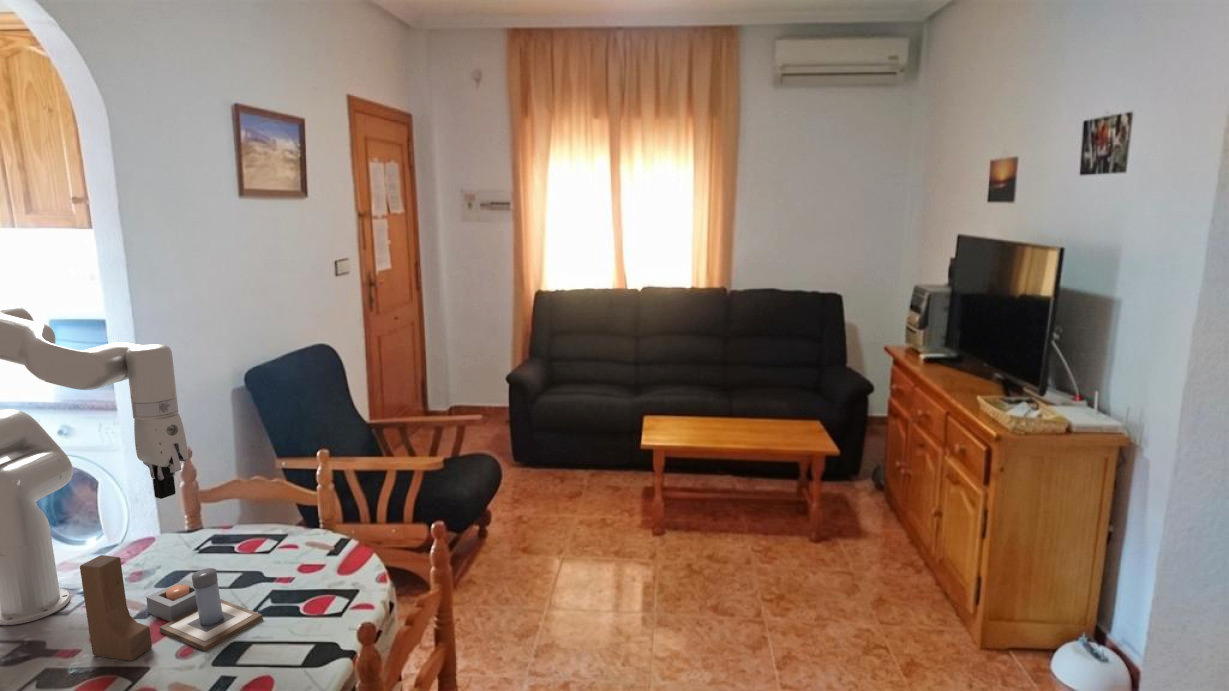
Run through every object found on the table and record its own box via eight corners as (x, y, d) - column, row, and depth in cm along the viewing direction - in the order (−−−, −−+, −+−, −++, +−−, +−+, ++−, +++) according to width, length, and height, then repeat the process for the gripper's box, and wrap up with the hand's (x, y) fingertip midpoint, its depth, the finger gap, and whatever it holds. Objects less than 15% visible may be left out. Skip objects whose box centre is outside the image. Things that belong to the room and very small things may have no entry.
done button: (163, 602, 145) (161, 591, 144) (182, 593, 148) (181, 582, 148) (175, 607, 143) (173, 596, 142) (194, 598, 146) (193, 587, 146)
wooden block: (153, 647, 132) (141, 558, 129) (132, 662, 128) (120, 570, 125) (113, 641, 134) (101, 554, 131) (91, 656, 130) (78, 565, 127)
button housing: (148, 612, 144) (146, 597, 143) (186, 594, 151) (185, 579, 150) (172, 622, 140) (170, 606, 140) (210, 603, 147) (208, 588, 147)
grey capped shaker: (195, 622, 139) (187, 575, 137) (216, 611, 142) (209, 566, 140) (206, 628, 136) (198, 581, 134) (227, 617, 140) (220, 571, 138)
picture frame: (159, 631, 137) (159, 626, 137) (218, 602, 148) (217, 597, 148) (205, 651, 131) (204, 645, 131) (262, 619, 142) (262, 613, 141)
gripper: (197, 407, 138) (206, 496, 141) (152, 398, 145) (161, 483, 148) (158, 417, 131) (169, 509, 135) (112, 407, 138) (123, 495, 141)
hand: (165, 495), depth 141 cm, fingers closed
